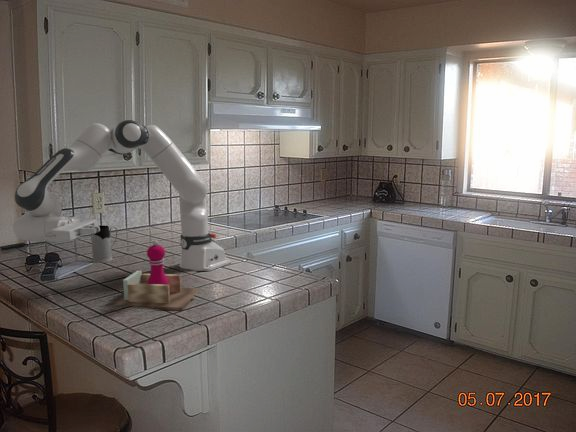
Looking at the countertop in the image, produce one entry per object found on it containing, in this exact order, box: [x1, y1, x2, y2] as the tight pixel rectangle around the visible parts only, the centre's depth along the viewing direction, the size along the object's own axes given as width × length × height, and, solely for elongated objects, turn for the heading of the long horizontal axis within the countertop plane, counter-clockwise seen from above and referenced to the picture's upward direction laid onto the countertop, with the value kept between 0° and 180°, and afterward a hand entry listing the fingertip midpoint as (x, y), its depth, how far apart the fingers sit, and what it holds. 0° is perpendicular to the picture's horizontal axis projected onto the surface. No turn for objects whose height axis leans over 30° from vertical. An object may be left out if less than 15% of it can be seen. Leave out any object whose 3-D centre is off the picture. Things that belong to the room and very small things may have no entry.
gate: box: [122, 270, 143, 300], centre depth 184 cm, size 2×12×7 cm, turn 172°
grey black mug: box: [90, 224, 119, 264], centre depth 237 cm, size 9×14×15 cm, turn 152°
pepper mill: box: [146, 240, 169, 285], centre depth 180 cm, size 7×7×20 cm
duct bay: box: [112, 273, 202, 311], centre depth 183 cm, size 24×20×7 cm
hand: (97, 230), depth 181 cm, fingers closed
